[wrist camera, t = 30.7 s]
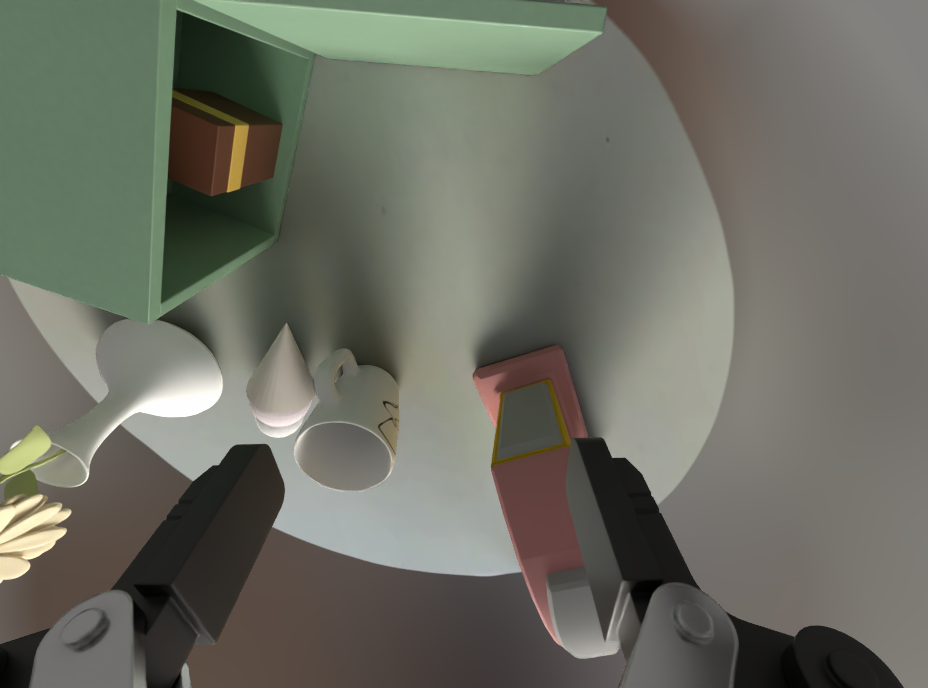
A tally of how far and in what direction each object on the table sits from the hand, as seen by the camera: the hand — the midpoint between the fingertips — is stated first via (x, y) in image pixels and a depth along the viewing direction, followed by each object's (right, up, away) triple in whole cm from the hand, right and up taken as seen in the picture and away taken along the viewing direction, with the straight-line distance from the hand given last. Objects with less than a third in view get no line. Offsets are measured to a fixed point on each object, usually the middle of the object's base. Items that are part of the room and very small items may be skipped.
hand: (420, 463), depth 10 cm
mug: (-9, 0, +30) cm, 32 cm away
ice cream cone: (-16, +1, +30) cm, 34 cm away
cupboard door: (-1, +25, +15) cm, 30 cm away
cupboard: (-16, +20, +19) cm, 32 cm away
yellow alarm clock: (+9, -5, +33) cm, 35 cm away
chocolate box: (-15, +19, +18) cm, 30 cm away
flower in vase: (-28, +2, +29) cm, 41 cm away
